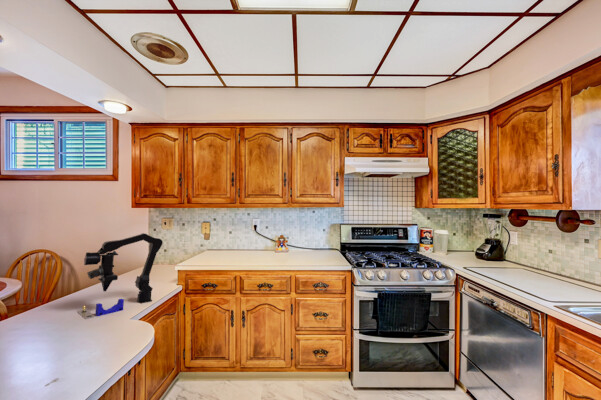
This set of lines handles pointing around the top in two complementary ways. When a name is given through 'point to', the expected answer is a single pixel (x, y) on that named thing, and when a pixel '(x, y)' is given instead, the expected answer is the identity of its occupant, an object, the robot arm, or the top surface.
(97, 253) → the robot arm
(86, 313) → the steel strip
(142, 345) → the top surface
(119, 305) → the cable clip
